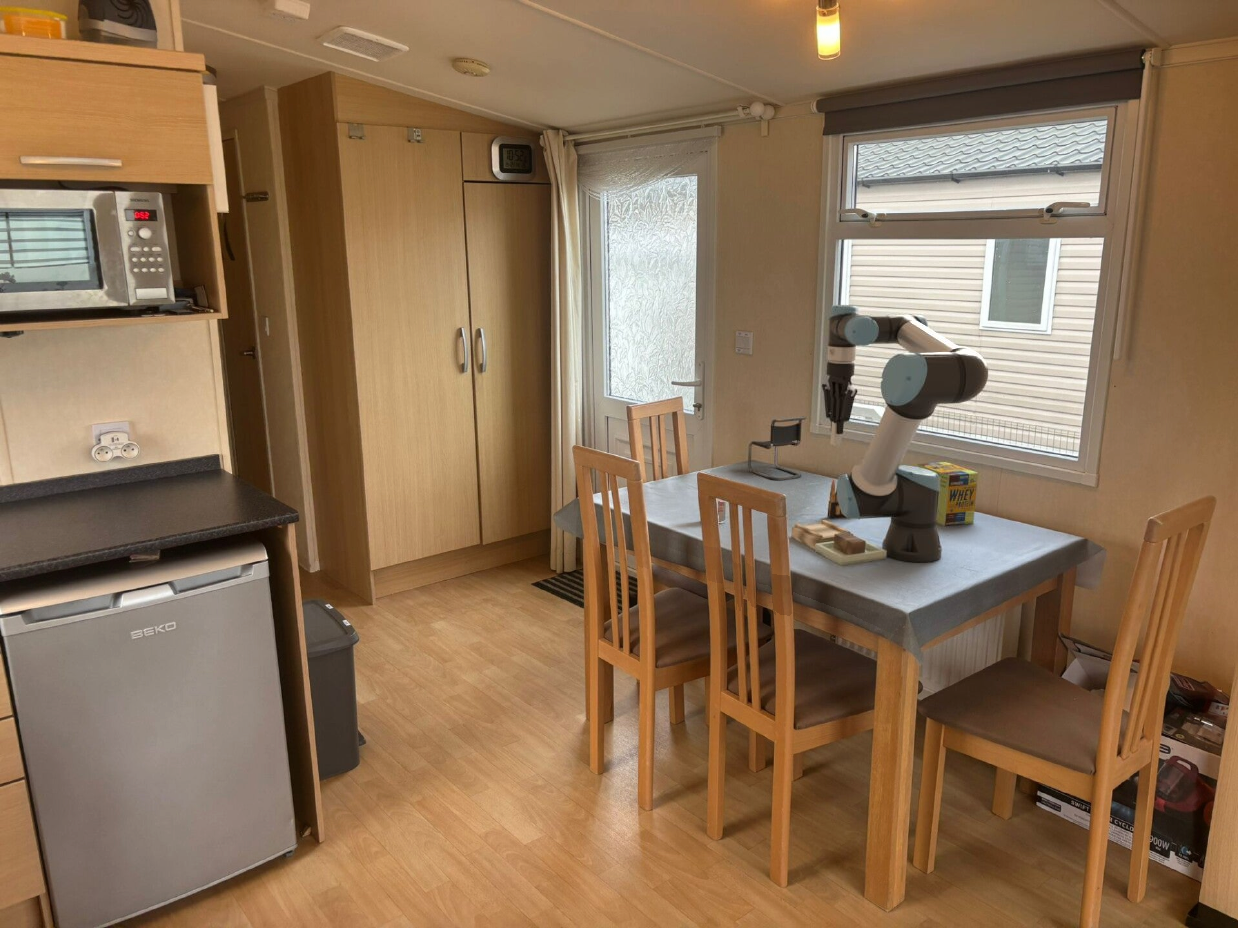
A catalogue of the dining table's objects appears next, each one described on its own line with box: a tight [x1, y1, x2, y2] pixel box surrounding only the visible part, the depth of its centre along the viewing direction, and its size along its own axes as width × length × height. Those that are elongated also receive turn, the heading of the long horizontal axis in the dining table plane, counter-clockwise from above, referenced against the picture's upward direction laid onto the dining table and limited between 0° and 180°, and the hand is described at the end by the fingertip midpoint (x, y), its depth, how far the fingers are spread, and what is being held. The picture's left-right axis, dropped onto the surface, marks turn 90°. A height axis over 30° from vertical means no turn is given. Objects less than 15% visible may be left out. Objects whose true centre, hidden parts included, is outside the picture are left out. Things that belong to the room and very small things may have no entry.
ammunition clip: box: [826, 478, 848, 520], centre depth 274 cm, size 11×2×12 cm, turn 103°
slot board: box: [790, 519, 854, 550], centre depth 252 cm, size 12×12×4 cm
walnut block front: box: [843, 536, 867, 555], centre depth 239 cm, size 4×4×4 cm
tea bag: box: [718, 501, 726, 522], centre depth 269 cm, size 4×7×10 cm, turn 104°
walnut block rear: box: [834, 532, 857, 553], centre depth 243 cm, size 4×4×4 cm
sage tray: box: [814, 539, 887, 566], centre depth 241 cm, size 12×14×2 cm
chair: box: [747, 415, 807, 481], centre depth 325 cm, size 13×17×22 cm
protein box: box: [916, 461, 979, 527], centre depth 273 cm, size 10×15×16 cm
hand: (836, 444), depth 258 cm, fingers closed
